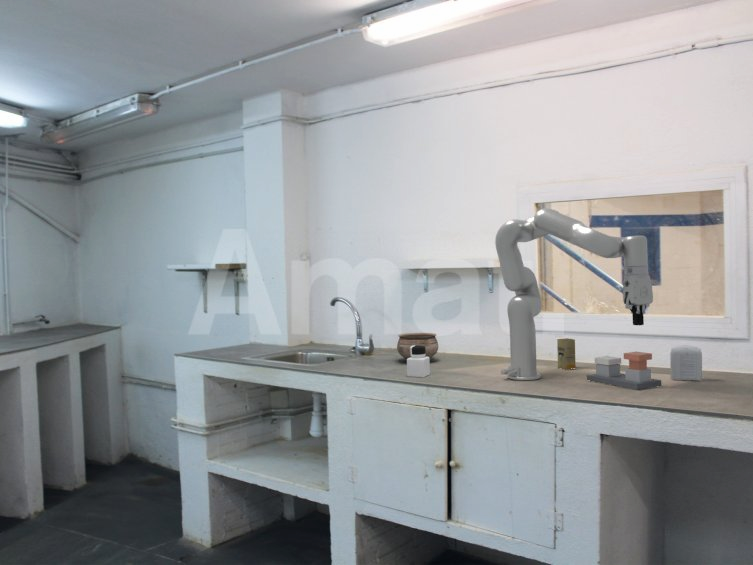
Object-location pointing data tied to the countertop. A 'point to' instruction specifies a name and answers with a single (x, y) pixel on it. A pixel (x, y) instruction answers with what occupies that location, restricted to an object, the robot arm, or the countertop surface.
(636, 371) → the block
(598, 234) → the robot arm
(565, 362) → the shoe polish box
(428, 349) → the cooking pot
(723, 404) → the countertop surface
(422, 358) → the medicine bottle
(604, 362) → the white plunger
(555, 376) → the countertop surface
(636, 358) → the salmon pink block
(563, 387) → the countertop surface
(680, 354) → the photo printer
